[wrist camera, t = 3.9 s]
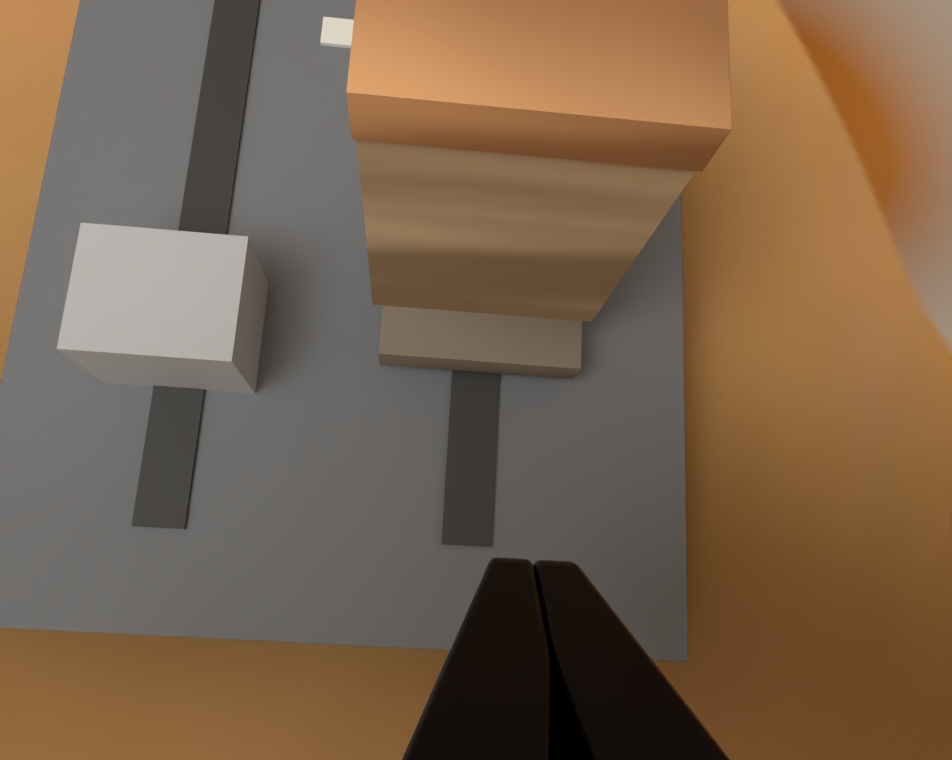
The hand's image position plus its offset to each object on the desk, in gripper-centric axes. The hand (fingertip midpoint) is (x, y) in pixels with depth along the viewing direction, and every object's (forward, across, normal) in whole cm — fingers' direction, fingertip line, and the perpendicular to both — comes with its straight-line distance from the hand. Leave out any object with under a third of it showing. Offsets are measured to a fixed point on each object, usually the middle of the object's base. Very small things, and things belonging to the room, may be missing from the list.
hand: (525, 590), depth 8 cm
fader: (+11, 0, +1) cm, 11 cm away
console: (+13, +3, +2) cm, 13 cm away
